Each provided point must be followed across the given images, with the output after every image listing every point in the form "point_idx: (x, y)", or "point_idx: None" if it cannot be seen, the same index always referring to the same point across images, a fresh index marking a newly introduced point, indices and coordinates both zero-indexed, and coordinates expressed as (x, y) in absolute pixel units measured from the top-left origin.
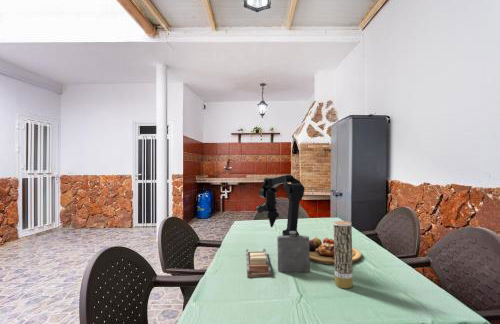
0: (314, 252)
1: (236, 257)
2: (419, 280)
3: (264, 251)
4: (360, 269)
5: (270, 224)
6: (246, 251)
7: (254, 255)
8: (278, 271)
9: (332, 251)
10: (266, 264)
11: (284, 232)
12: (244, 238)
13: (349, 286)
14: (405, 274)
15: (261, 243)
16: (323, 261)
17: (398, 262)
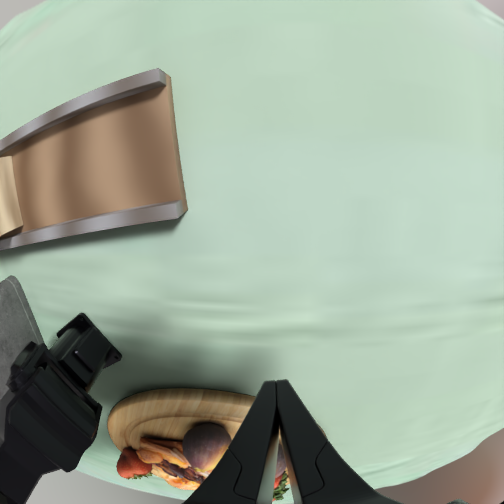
0: (182, 432)
1: (116, 39)
2: (106, 478)
3: (116, 217)
4: (115, 455)
5: (249, 412)
6: (109, 85)
7: None
8: (9, 276)
9: (136, 465)
10: (15, 234)
11: (4, 414)
12: (499, 86)
13: None
14: (123, 481)
15: (422, 181)
16: (107, 423)
17: (182, 498)
